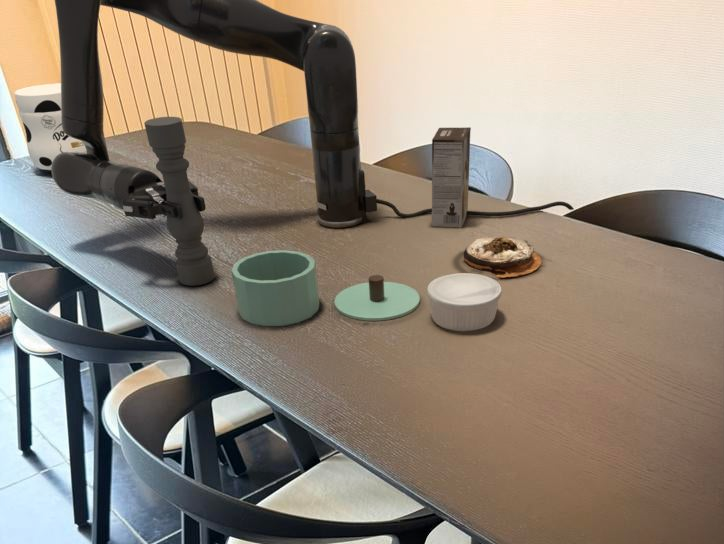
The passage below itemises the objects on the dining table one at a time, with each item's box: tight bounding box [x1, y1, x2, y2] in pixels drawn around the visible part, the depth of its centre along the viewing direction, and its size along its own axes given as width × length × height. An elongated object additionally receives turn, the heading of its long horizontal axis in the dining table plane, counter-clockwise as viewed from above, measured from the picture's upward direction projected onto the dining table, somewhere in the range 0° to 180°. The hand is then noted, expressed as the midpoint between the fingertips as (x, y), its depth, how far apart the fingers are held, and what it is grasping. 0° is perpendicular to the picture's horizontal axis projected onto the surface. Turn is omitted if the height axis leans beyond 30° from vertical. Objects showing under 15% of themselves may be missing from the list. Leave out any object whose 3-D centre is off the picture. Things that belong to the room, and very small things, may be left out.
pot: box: [230, 249, 321, 327], centre depth 112 cm, size 13×13×8 cm
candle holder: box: [144, 116, 216, 287], centre depth 117 cm, size 6×6×25 cm
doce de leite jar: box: [13, 82, 86, 174], centre depth 179 cm, size 17×17×18 cm
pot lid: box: [333, 274, 421, 322], centre depth 113 cm, size 14×14×5 cm
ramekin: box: [426, 272, 503, 332], centre depth 108 cm, size 11×11×5 cm
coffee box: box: [431, 127, 472, 228], centre depth 139 cm, size 9×6×16 cm
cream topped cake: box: [463, 236, 542, 279], centre depth 125 cm, size 15×15×4 cm
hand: (191, 208), depth 116 cm, fingers closed on candle holder, 4 cm apart
